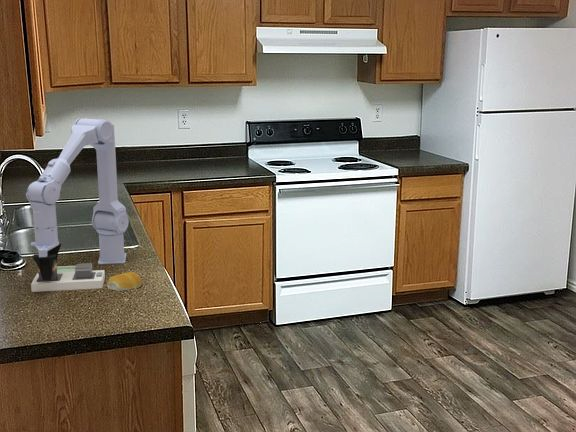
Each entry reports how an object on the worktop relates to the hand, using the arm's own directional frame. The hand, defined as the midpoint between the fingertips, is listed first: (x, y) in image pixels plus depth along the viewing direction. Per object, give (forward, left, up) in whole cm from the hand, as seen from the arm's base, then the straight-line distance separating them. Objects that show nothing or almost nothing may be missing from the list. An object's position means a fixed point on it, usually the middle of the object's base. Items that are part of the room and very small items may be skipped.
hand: (49, 275), depth 178 cm
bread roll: (+3, +20, -4) cm, 20 cm away
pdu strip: (0, +5, -3) cm, 6 cm away
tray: (-10, +3, -3) cm, 11 cm away
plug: (0, 0, -3) cm, 3 cm away
